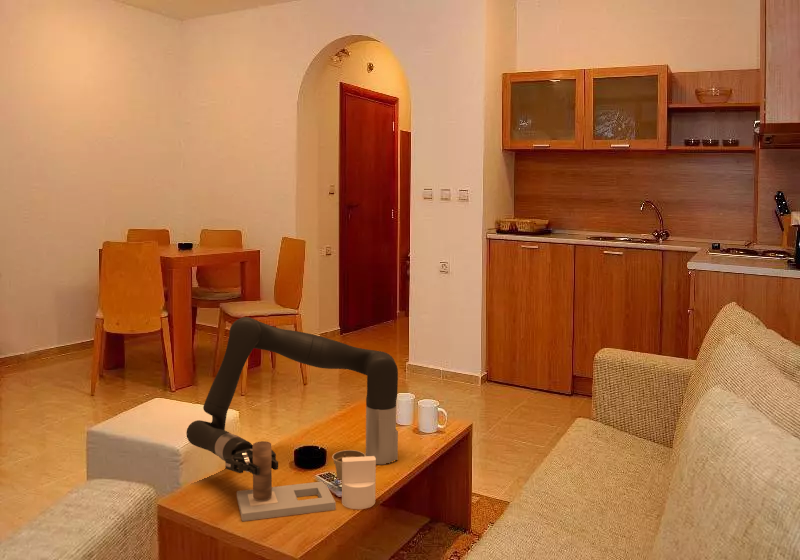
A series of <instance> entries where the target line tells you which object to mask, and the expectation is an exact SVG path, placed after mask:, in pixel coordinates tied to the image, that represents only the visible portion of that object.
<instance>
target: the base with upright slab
mask: <svg viewBox="0 0 800 560" xmlns="http://www.w3.org/2000/svg"><path fill="white" fill-rule="evenodd" d="M376 467H377V464H376V458H375V457H374V456H366V457H346V458H342V487H341V504H342V506H344V507H345V508H347V509H351V510H364V509H369V508H371V507H373V506H374V505H375V504H376V480H377V479H376V476H377V475H376V473H377V472H376V470H377V469H376Z"/></svg>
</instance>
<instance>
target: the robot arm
mask: <svg viewBox="0 0 800 560" xmlns="http://www.w3.org/2000/svg"><path fill="white" fill-rule="evenodd" d="M226 345H227V346H226V349H225V353H224V356H223V359H222V362H221V364H220V366H219V369H218V370H217V373H216V376H215V377H214V379H213V382H212V384H211V386H210V389H209V391H208V394H207V396H206V398H205V400H204V404H203V407H202V408H203V411H204V412H205V413H206V414H208V415H209V416H212V418H211V419H212V420H211V421H206V420H195V421H192V422H191V423H190V424H189V425H188V427H187V429H186V439H187V440H188V443H190V444H192V445H193V446H195V447H197V448H200V449H203V450H206V451H207V452H208V451H209V452H211V453H213V455H216V456H217V457H219V458H220V460H222V461H223V462H225V466H224V468H225V469H226V470H229V471H232V472H235V473H237V474H243V473H244V472H245V473H249V474H252V475H253V474H255V475H256V476H257V475H260V468H259V467H258V466H257V465H255V464H253V444H252V442H250V441H248V440H246V439H244V438H243V437H240V436H239V435H237V434H234V433H231V432H229V431H227V430H225V429H226V421H227V415H228V410H229V409H230V406H231V403H232V400H233V398H234V396H235V392H236V390H237V386H238V384H239V380H240V377H241V374H242V371H243V369H244V366H245V364H246V362H247V361H248V359H249V356H250V355H251V354H252V351H253V349H255V350H256V349H257V350H263V351H267V352H273V353H275V354H278V355H280V356H283V357H285V358H287V359H289V360H292V361H294V362H298V363H301V364H303V365H308V366H311V367H314V368H319V369H327V370H347V371H348V370H349V371H352V372H356V373H359V374H362V375H365V376H366V396H365V397H366V398H365V455H366V456H374V457H375V458H376V465H387V464H386V463H389V464H391V463H390V462H392V461H394V460H399V459H398V455H399V454H398V452H399V451H398V449H399V443H398V442H399V431H398V430H397V401H398V400H397V399H398V390H399V389H398V384H399V370H398V366H397V363H396V361H395V359H394V358H393V356H392V355H390V354H389V353H387V352H385V351H380V350H373V349H367V348H360V347H355V346H353V345H349V344H347V343H344V342H341V341H336V340H334V339H330V338H327V337H324V336H320V335H317V334H312V333H308V332H302V331H296V330H290V329H284V328H279V327H275V326H272V325H269V324H267V323H264V322H263V321H259V320H257V319H254V318H252V317H249V316H243V317H241V318H238V319H236V320H235V321H233V323H232V324H231V326H230V328H229V332H228V340H227V344H226ZM276 457H277V453H275V451H274V450H273V449H272V448H271V463H272V470H273V471H276V470H279V461H278V460H277V459H276ZM394 462H395V461H394ZM392 463H393V462H392Z"/></svg>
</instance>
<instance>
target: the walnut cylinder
mask: <svg viewBox="0 0 800 560" xmlns="http://www.w3.org/2000/svg"><path fill="white" fill-rule="evenodd" d="M252 445H253V464H255V465H257V466H258V467H259V468H260V475H257V476H256V475H255V474H252V489H253V497H254V498H255V499H258V500H264V499H268V498H270V497H271V496H272V487H273V485H272V482H273V481H272V479H273V478H272V476H273V475H272V470H273V469H272V463H271V449H272V442H270V441H266V440H265V441H256V442H254V443H253V444H252Z"/></svg>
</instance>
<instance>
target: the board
mask: <svg viewBox="0 0 800 560" xmlns="http://www.w3.org/2000/svg"><path fill="white" fill-rule="evenodd" d="M308 496H309V497H310V496H317V497H316V498H315V497H314V498H308V499H300V500H298V498H301V497H308ZM236 500H237V504H238V508H239V514H240V518H241V522H248V521H254V520H255V521H256V520H263V519H271V518H279V517H288V516H295V515H302V514H303V515H304V514H311V513H313V514H314V513H319V512H328V511H336V505H337V504H336V503H337V502H336V500H335V498H334V497H333V495H332V493H331V491H330V489H329V487H328V485H327V484H326V485H325V484H324V483H323V482H322V481H317V482H316V481H315V482H307V483H296V484H288V485H279V486H278V485H277V486H272V496H271V497H270V498H268V499H264V500H258V499H255V498H254V497H253V488H251V489H244V490H237V491H236Z"/></svg>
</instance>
